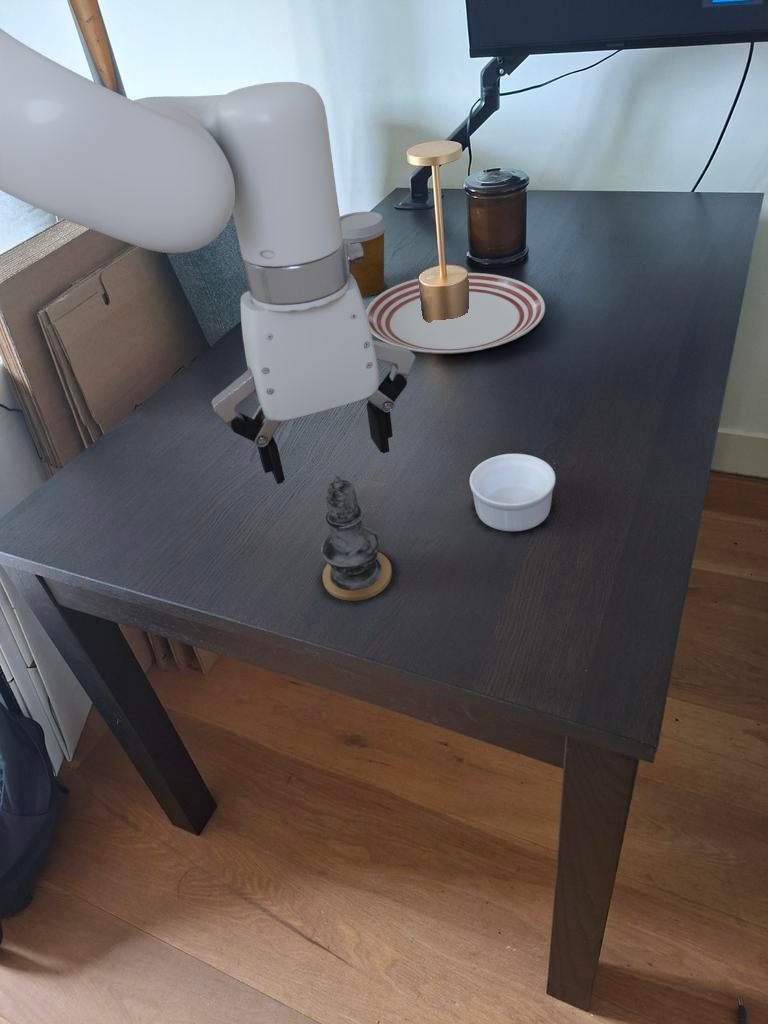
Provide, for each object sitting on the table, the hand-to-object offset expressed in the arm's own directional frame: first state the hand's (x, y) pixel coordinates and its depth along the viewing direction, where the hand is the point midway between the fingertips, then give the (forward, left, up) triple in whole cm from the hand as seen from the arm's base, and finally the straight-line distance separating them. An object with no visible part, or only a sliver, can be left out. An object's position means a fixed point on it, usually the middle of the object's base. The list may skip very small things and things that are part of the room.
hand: (329, 460), depth 67 cm
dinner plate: (+32, +46, -15) cm, 58 cm away
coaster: (0, 0, -15) cm, 15 cm away
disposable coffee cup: (+25, +68, -15) cm, 74 cm away
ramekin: (+19, +2, -15) cm, 24 cm away
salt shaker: (0, 0, -14) cm, 14 cm away
